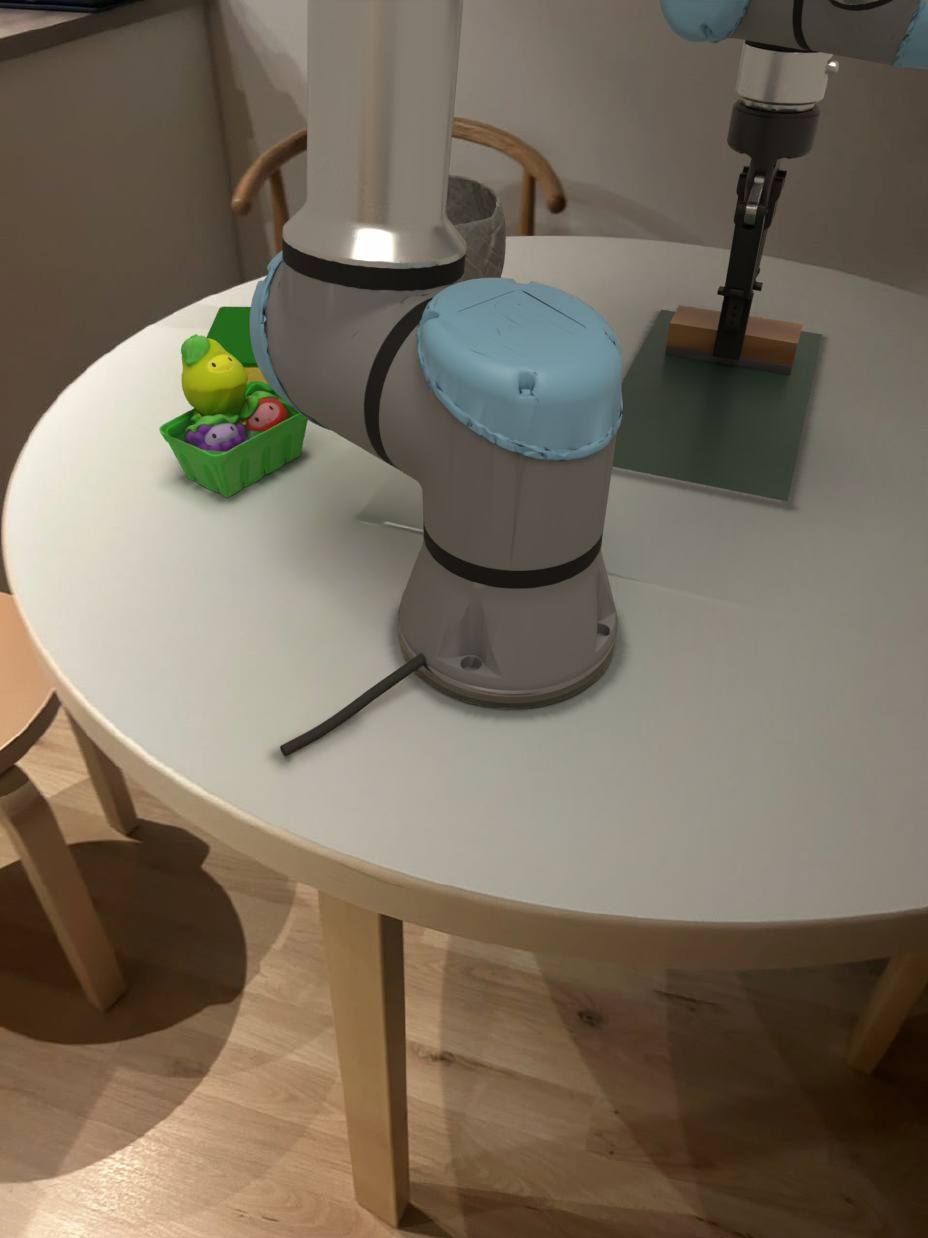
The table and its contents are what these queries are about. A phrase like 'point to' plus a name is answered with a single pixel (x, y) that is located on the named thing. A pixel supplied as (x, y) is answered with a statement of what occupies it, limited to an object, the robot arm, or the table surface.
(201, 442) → the fruit basket
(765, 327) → the board eraser
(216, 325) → the dish sponge
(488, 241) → the bowl
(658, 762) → the table surface
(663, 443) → the chalkboard
